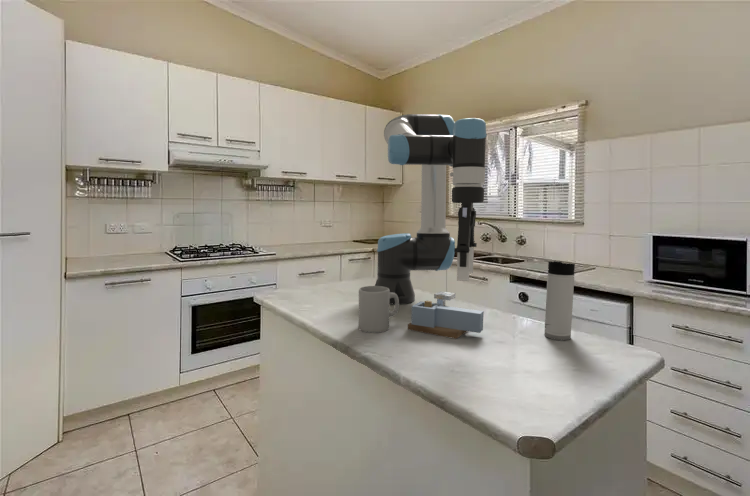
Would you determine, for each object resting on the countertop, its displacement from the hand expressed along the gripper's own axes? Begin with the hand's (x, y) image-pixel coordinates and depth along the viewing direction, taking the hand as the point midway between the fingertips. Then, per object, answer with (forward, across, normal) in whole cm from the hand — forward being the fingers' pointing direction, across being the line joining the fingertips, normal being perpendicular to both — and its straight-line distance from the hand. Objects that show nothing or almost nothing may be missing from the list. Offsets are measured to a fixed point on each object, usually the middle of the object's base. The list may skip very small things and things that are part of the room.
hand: (465, 276), depth 100 cm
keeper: (+15, -14, -7) cm, 22 cm away
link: (+15, -7, -5) cm, 17 cm away
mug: (+17, -5, -23) cm, 29 cm away
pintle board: (+16, -11, -7) cm, 21 cm away
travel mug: (+17, -12, +23) cm, 31 cm away
